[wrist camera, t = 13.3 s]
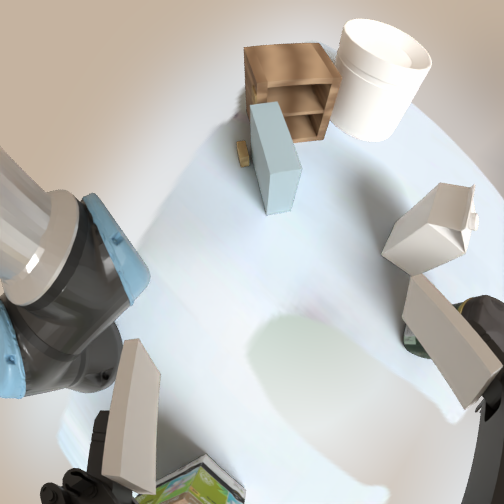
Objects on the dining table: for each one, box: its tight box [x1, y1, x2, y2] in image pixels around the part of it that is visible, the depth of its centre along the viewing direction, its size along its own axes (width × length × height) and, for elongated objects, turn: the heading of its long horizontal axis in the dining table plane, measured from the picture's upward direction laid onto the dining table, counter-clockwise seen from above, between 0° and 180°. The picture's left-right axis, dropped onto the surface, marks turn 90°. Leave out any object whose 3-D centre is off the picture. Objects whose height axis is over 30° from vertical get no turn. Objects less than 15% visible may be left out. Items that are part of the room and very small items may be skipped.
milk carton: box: [381, 183, 479, 276], centre depth 35 cm, size 7×7×19 cm
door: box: [250, 101, 302, 216], centre depth 41 cm, size 4×12×13 cm, turn 12°
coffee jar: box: [404, 295, 504, 359], centre depth 31 cm, size 10×8×19 cm
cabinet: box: [237, 43, 342, 167], centre depth 43 cm, size 16×14×16 cm
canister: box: [330, 19, 432, 142], centre depth 42 cm, size 16×16×20 cm
